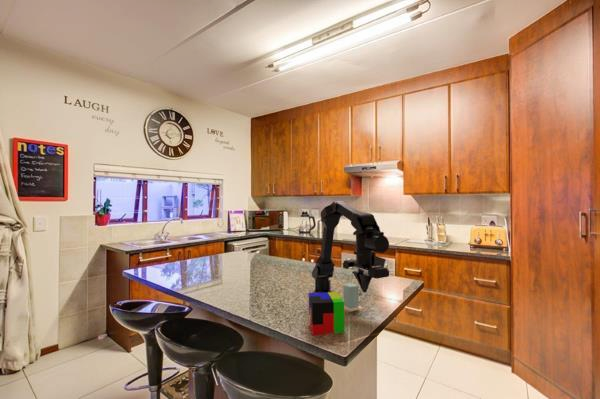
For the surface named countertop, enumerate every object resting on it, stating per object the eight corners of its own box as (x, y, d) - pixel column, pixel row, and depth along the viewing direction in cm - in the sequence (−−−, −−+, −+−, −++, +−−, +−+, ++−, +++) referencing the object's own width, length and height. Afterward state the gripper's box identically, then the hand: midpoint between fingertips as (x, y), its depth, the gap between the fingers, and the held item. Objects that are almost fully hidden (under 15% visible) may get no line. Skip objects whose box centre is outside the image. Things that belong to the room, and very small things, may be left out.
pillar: (350, 311, 107) (349, 287, 107) (343, 308, 110) (343, 284, 110) (358, 309, 108) (358, 285, 109) (352, 306, 112) (351, 283, 112)
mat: (365, 309, 109) (365, 308, 109) (344, 314, 105) (344, 313, 105) (343, 299, 122) (343, 298, 122) (323, 303, 117) (323, 302, 117)
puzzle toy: (309, 322, 98) (308, 293, 99) (337, 321, 99) (337, 292, 99) (312, 335, 88) (312, 303, 89) (344, 334, 89) (344, 301, 89)
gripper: (400, 250, 98) (401, 296, 98) (364, 243, 115) (364, 282, 114) (375, 253, 93) (376, 301, 93) (341, 245, 109) (342, 286, 109)
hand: (364, 292), depth 102 cm, fingers closed
